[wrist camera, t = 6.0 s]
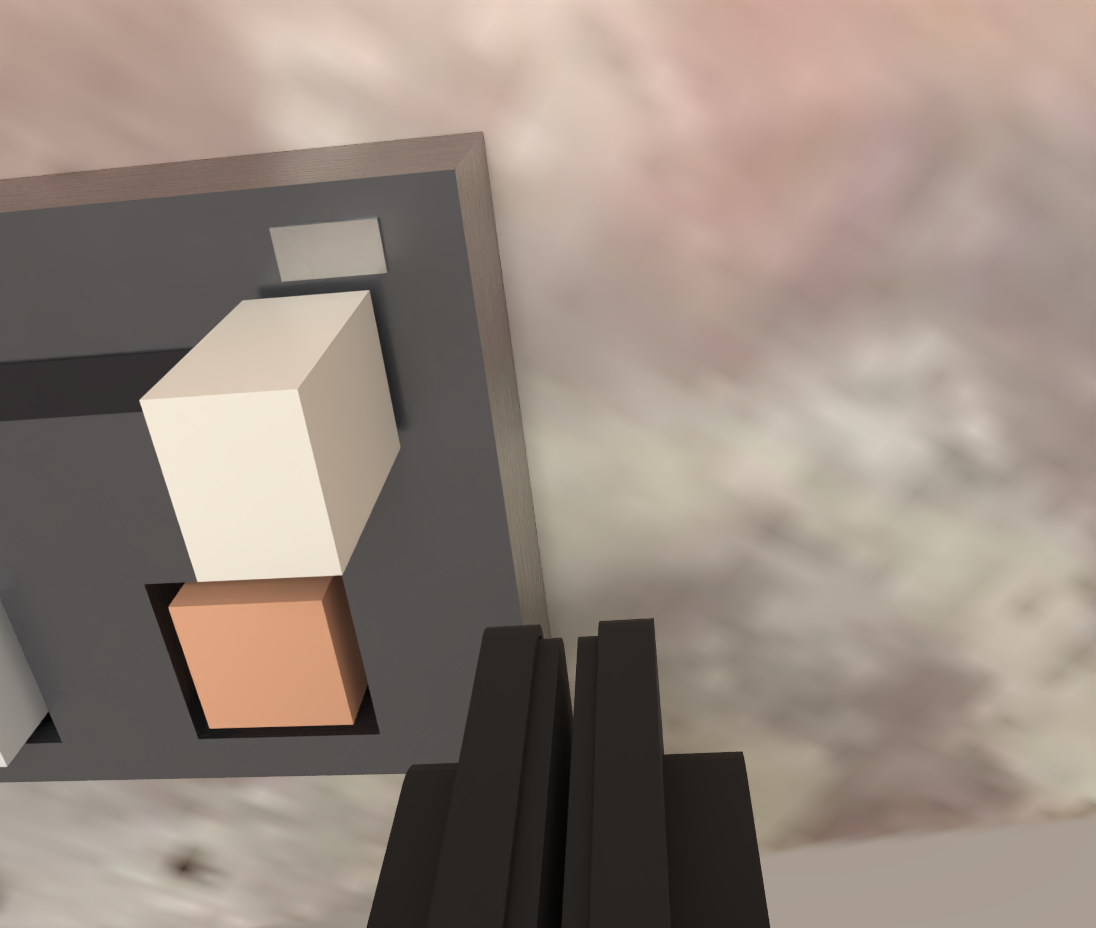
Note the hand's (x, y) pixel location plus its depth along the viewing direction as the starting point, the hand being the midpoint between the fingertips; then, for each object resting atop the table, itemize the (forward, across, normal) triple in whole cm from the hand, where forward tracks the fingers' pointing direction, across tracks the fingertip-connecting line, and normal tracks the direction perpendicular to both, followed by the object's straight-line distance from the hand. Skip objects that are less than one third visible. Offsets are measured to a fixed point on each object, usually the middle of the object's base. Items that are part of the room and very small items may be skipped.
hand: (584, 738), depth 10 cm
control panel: (+14, +12, +3) cm, 19 cm away
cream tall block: (+10, +5, 0) cm, 11 cm away
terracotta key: (+13, +8, +7) cm, 16 cm away
